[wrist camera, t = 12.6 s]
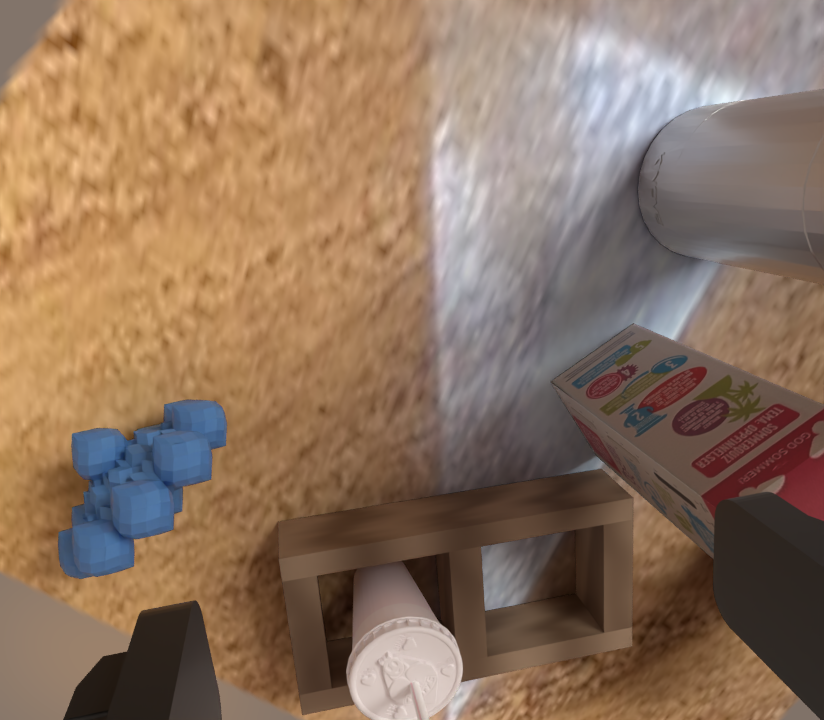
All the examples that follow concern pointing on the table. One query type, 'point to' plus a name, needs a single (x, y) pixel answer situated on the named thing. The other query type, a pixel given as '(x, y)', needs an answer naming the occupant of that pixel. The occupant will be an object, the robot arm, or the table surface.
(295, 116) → the table surface
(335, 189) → the table surface
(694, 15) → the table surface
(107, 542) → the grapes
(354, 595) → the smoothie
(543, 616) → the slot rack
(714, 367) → the juice carton
